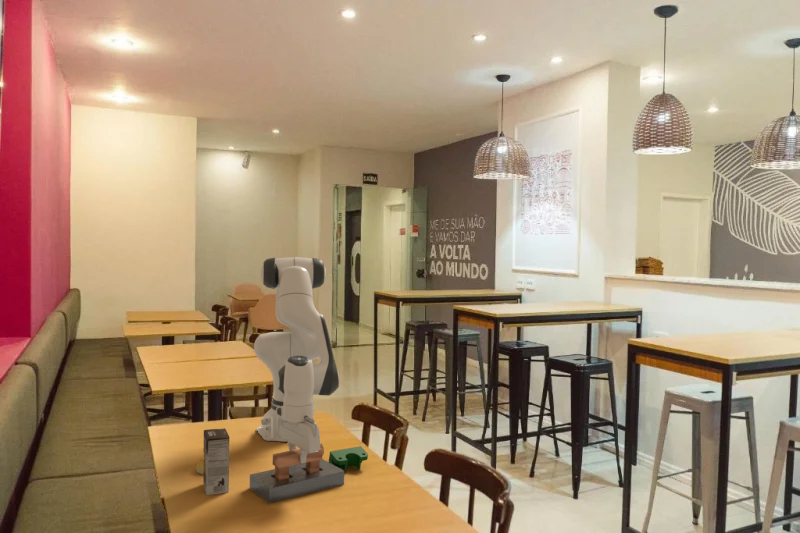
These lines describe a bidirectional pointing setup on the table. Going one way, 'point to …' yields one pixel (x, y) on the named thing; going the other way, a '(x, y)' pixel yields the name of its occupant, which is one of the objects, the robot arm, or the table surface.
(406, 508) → the table surface
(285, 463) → the wooden bridge block
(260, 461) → the table surface
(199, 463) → the bread roll
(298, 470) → the cinder block
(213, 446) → the coffee box
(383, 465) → the table surface
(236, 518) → the table surface
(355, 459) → the clamp
